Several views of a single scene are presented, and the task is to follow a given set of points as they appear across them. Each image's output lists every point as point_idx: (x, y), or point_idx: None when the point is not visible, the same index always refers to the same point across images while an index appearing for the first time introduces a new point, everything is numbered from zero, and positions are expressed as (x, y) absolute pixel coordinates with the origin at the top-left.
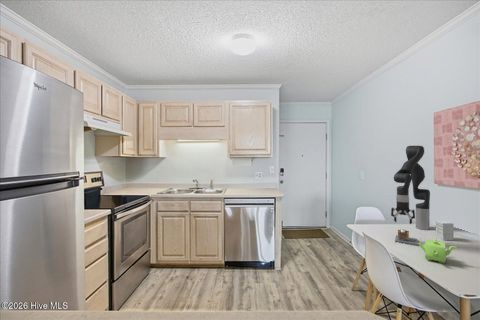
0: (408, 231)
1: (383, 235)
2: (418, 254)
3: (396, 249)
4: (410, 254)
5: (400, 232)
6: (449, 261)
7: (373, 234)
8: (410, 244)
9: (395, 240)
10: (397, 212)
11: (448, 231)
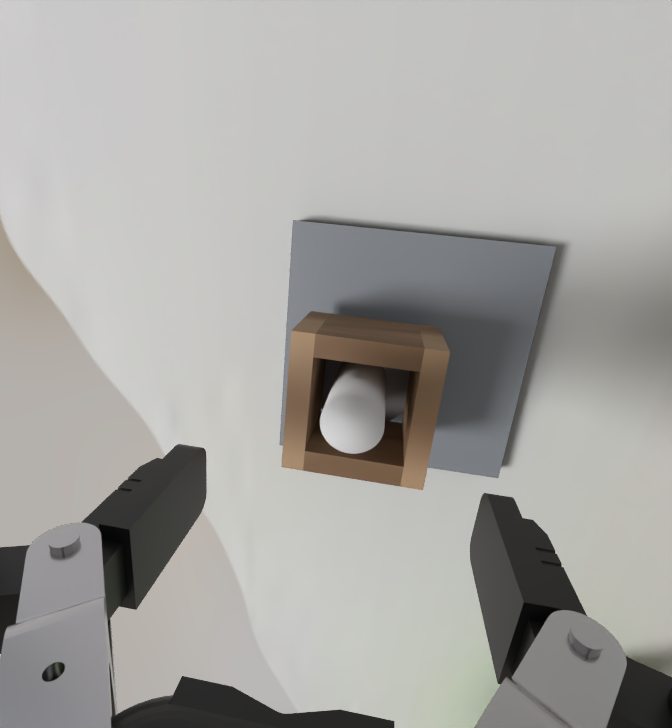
0: (440, 382)
1: (157, 228)
2: (443, 662)
3: (289, 614)
4: (382, 677)
5: (316, 471)
6: None
7: (52, 244)
8: None
9: (282, 442)
10: (20, 707)
11: None
